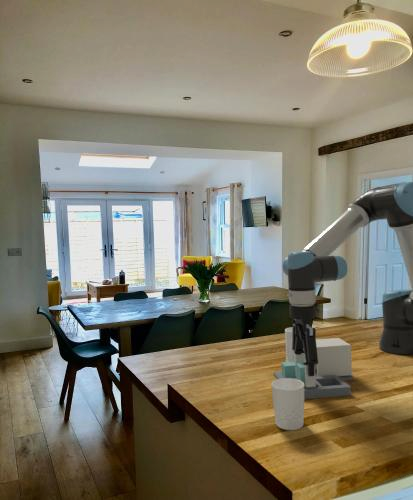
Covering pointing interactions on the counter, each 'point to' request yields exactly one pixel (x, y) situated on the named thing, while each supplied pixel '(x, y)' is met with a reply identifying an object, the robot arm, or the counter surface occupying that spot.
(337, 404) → the counter surface
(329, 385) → the socket board
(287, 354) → the mug
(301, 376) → the peg
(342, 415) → the counter surface
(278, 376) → the board
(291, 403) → the white cup
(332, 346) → the cover
